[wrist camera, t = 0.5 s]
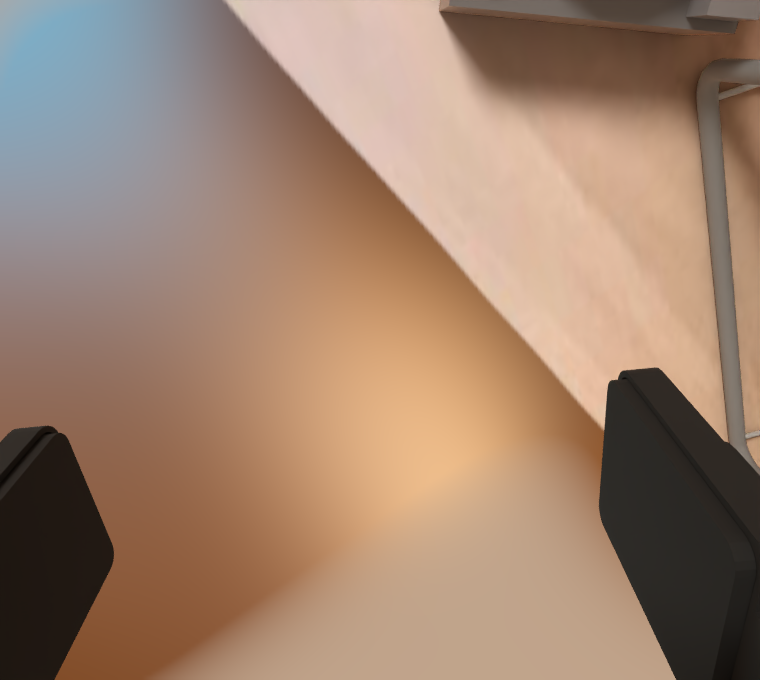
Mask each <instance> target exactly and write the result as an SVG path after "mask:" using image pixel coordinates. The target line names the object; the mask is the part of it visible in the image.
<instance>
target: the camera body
mask: <svg viewBox="0 0 760 680" xmlns="http://www.w3.org/2000/svg"><path fill="white" fill-rule="evenodd" d="M439 11H442V12H452V13H463V14H473V15H483V16H493V17H504V18H514V19H524V20H534V21H544V22H555V23H565V24H575V25H585V26H596V27H606V28H616V29H626V30H636V31H647V32H657V33H667V34H677V35H713V34H735V31H736V28H737V25H738V22H739V21H753V20H759V17H760V0H440V6H439Z"/></svg>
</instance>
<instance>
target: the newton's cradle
mask: <svg viewBox="0 0 760 680" xmlns="http://www.w3.org/2000/svg"><path fill="white" fill-rule="evenodd" d="M720 82H731V83H740V84H744V85H741V86H738V87H735V88H732V89H730V90H727V91H724V92H721V93H719V85H720ZM757 87H760V60H753V59H727V58H722V59H719V60H715V61H712V62H711V63H709V64H708V65H707V67H706V68H705V69H704V70H703V71H702V73H701V76H700V78H699V81H698V85H697V92H696V99H697V113H698V123H699V134H700V144H701V155H702V165H703V176H704V186H705V197H706V207H707V218H708V228H709V239H710V249H711V260H712V270H713V280H714V291H715V301H716V312H717V322H718V333H719V343H720V354H721V364H722V375H723V385H724V396H725V406H726V417H727V427H728V438H729V443H730V444H731V445H732V446H733V447H734V448H735V449H737V451H738V452H739V453H740V454H741V455H742V456H743V457H744V458H745V459H746V461H747V462H748V463H749V464H750V465H751V466H752V467H753V468H754V470H755V471H756V472H757V473H758V474H759V475H760V468H759V467H758V466H757V464H756V463H755V462H754V460H753V458H752V456H751V454H750V452H749V450H748V447H747V443H746V439H748V438H752V437H756V436H760V430H757V431H754V432H750V433H746V434H745V423H744V411H743V398H742V386H741V373H740V361H739V348H738V335H737V323H736V310H735V298H734V285H733V273H732V260H731V248H730V235H729V223H728V210H727V197H726V185H725V172H724V160H723V147H722V135H721V122H720V110H719V100H722V99H725V98H728V97H731V96H733V95H736V94H739V93H742V92H745V91H748V90H751V89H754V88H757Z"/></svg>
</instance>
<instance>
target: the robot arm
mask: <svg viewBox="0 0 760 680" xmlns="http://www.w3.org/2000/svg"><path fill="white" fill-rule="evenodd" d="M599 510H600V516H601V520H602V523H603V526H604V528H605V530H606V532H607V534H608V537H609V539H610V541H611V543H612V545H613V547H614V549H615V551H616V553H617V555H618V558H619V560H620V562H621V564H622V566H623V568H624V570H625V572H626V575H627V577H628V579H629V581H630V583H631V585H632V587H633V589H634V592H635V593H636V596H637V598H638V600H639V602H640V604H641V606H642V608H643V611H644V612H645V615H646V616H647V619H648V621H649V623H650V625H651V627H652V629H653V632H654V634H655V635H656V638H657V640H658V642H659V644H660V646H661V649H662V651H663V653H664V655H665V657H666V659H667V661H668V663H669V665H670V667H671V670H672V672H673V674H674V676H675V678H676V680H760V475H759V474H758V473H757V472H756V471H755V470H754V468H753V467H752V466H751V465H750V464H749V463H748V462H747V461H746V459H745V458H744V457H743V456H742V455H741V454H740V453H739V452H738V451H737V449H735V448H734V447H733V446H732V445H731V444H730V443H727V442H724V441H723V440H722V438H721V437H720V436H719V435H718V434H717V433H716V432H715V430H714V429H713V428H712V427H711V426H710V425H709V424H708V423H707V421H706V420H705V419H704V418H703V417H702V416H701V415H700V413H699V412H698V411H697V410H696V409H695V408H694V407H693V405H692V404H691V403H690V402H689V401H688V400H687V399H686V398H685V396H684V395H683V394H682V393H681V392H680V391H679V390H678V388H677V387H676V386H675V385H674V384H673V383H672V382H671V380H670V379H669V378H668V377H667V376H666V375H665V374H664V373H663V371H662V370H660V369H659V368H647V369H636V370H626V371H622V372H621V373H620V375H619V377H618V380H611V381H610V382H609V384H608V390H607V404H606V417H605V430H604V444H603V458H602V471H601V484H600V499H599ZM113 559H114V551H113V545H112V543H111V540H110V538H109V536H108V533H107V531H106V529H105V526H104V524H103V521H102V519H101V517H100V514H99V512H98V509H97V507H96V505H95V502H94V500H93V497H92V495H91V493H90V490H89V488H88V486H87V483H86V481H85V479H84V476H83V474H82V471H81V469H80V466H79V464H78V462H77V460H76V457H75V455H74V452H73V450H72V447H71V445H70V443H69V440H68V439H67V437H66V436H65V435H64V434H62V433H58V432H57V430H56V429H55V428H53V427H51V426H40V427H30V428H19V429H14V430H12V431H11V432H10V433H9V434H8V435H7V436H6V437H5V438H4V439H3V440H2V441H1V442H0V680H54V679H55V677H56V675H57V673H58V671H59V670H60V668H61V666H62V664H63V662H64V660H65V658H66V656H67V654H68V652H69V650H70V648H71V646H72V644H73V642H74V640H75V638H76V636H77V634H78V632H79V630H80V628H81V626H82V624H83V622H84V620H85V618H86V616H87V614H88V612H89V610H90V608H91V606H92V604H93V603H94V601H95V598H96V597H97V594H98V593H99V591H100V589H101V587H102V585H103V583H104V581H105V579H106V577H107V575H108V573H109V571H110V569H111V567H112V563H113Z"/></svg>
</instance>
